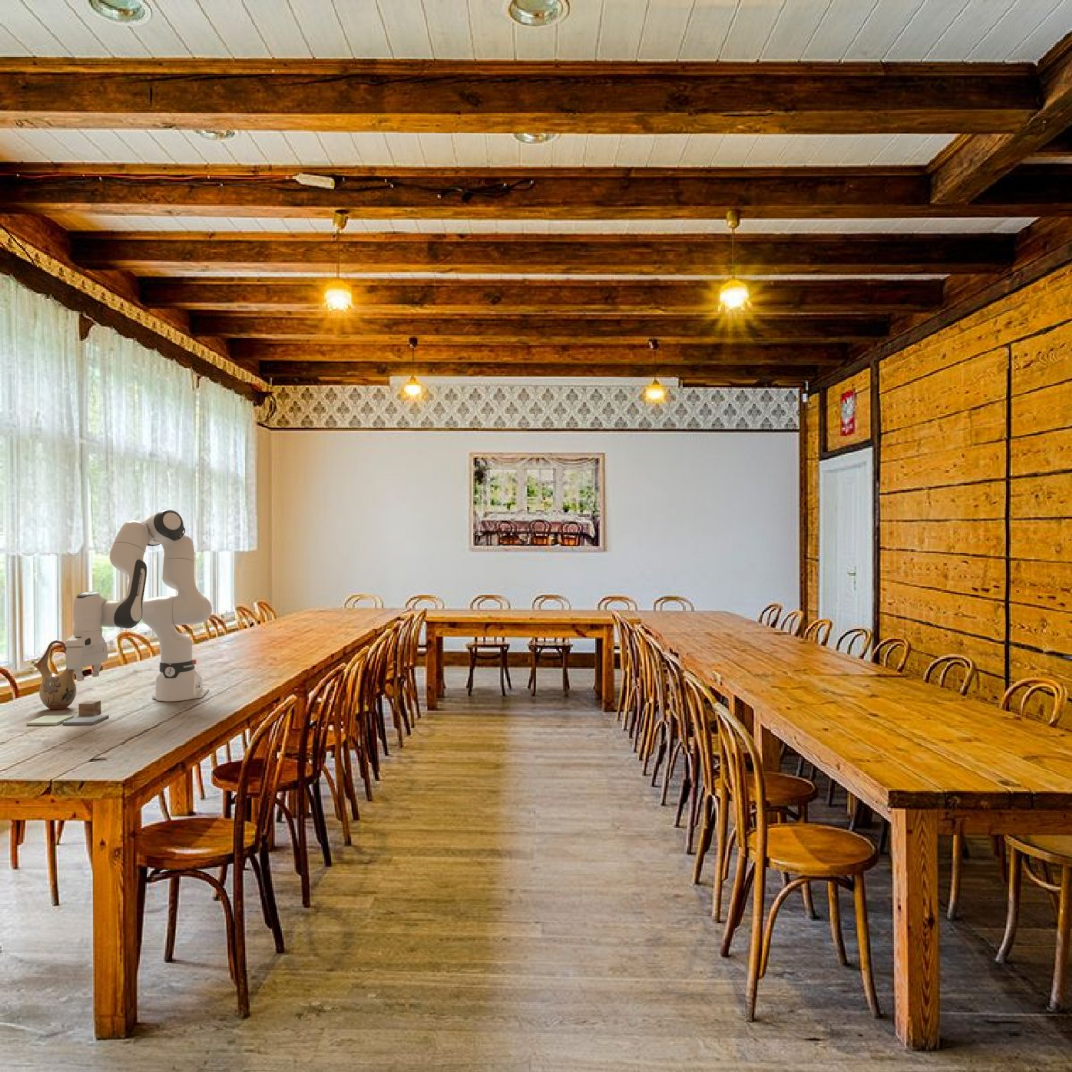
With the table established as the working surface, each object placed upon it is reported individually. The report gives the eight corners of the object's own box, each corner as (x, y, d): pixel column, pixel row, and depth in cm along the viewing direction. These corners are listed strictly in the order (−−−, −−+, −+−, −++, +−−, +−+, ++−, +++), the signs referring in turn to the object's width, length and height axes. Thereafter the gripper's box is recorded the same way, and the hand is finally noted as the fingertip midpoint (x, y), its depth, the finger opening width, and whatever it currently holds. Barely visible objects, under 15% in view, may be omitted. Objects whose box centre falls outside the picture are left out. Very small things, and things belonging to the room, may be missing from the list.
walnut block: (86, 714, 282) (86, 700, 282) (101, 714, 282) (100, 700, 282) (78, 718, 277) (78, 703, 277) (93, 718, 277) (93, 703, 277)
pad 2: (79, 718, 276) (79, 715, 276) (108, 717, 276) (108, 714, 276) (62, 725, 266) (62, 722, 266) (92, 725, 266) (92, 722, 266)
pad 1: (44, 718, 276) (44, 715, 276) (73, 718, 276) (73, 715, 276) (26, 725, 266) (26, 722, 266) (56, 725, 266) (56, 722, 266)
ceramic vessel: (87, 705, 296) (86, 637, 296) (75, 711, 287) (74, 641, 287) (41, 706, 295) (40, 638, 295) (27, 712, 286) (26, 642, 286)
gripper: (95, 635, 289) (95, 674, 289) (61, 642, 269) (61, 683, 269) (112, 635, 289) (112, 674, 289) (80, 642, 269) (80, 683, 269)
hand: (88, 678), depth 279 cm, fingers open, 8 cm apart
